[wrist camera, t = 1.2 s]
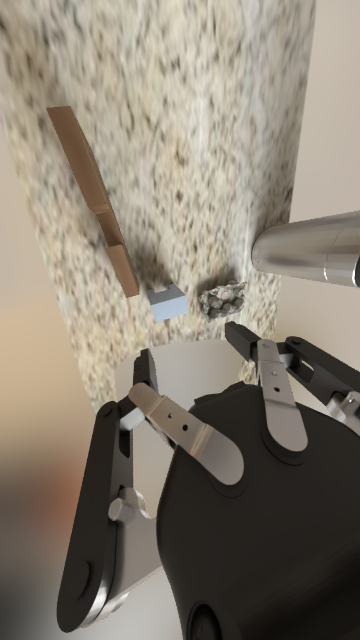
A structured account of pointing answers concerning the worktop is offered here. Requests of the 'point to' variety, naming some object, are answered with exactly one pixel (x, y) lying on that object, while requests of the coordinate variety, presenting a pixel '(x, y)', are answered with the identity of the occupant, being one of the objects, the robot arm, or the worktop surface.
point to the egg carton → (217, 302)
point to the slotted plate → (94, 193)
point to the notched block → (168, 303)
